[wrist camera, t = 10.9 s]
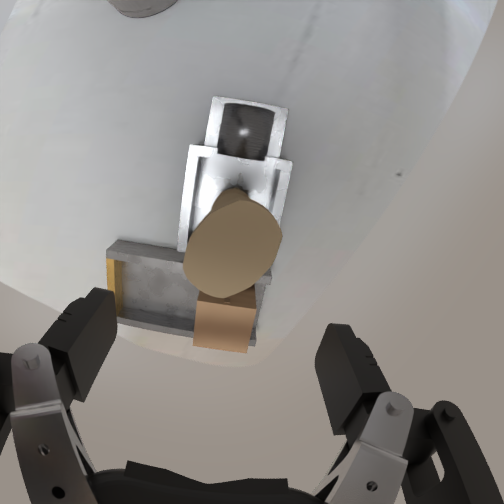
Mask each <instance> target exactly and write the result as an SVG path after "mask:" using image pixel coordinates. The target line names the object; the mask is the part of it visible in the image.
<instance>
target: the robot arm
mask: <svg viewBox="0 0 504 504" xmlns="http://www.w3.org/2000/svg"><path fill="white" fill-rule="evenodd" d="M107 1H108V2H109V3H110V4H112V5H113V6H114V7H115V8H116V9H117V10H118V11H119V12H120V13H121V14H123V15H125V16H128V17H135V18H140V17H147V16H151V15H154V14H157V13H159V12H161V11H163V10H165V9H166V8H168V7H170V6H171V5H172V4H173V3H175V2H176V1H177V0H107ZM116 334H117V315H116V303H115V294H114V292H113V291H111V290H106V289H101V288H97V287H94V288H93V289H92V290H91V291H90V293H89V294H88V295H87V296H86V297H85V298H82V297H80V298H79V299H77V300H75V301H73V302H72V303H70V304H69V305H68V306H67V308H66V309H65V310H64V311H63V313H62V314H61V315H60V316H59V317H58V320H56V321H55V322H54V323H53V325H52V326H51V327H50V328H49V329H48V331H47V332H46V333H45V335H44V336H43V337H42V338H41V340H40V341H39V342H38V344H37V343H29V344H25V345H23V346H21V347H19V348H18V349H17V350H16V351H15V352H14V353H13V354H9V353H1V352H0V455H1V452H2V450H3V447H4V445H5V442H6V440H7V438H8V435H9V433H10V431H11V429H12V432H13V438H14V443H15V447H16V452H17V457H18V460H19V465H20V468H21V472H22V475H23V479H24V482H25V486H26V489H27V492H28V495H29V498H30V501H31V504H394V502H395V500H396V497H397V494H398V491H399V489H400V486H402V490H403V493H404V497H405V501H406V504H504V503H503V500H502V497H501V495H500V492H499V489H498V487H497V485H496V482H495V480H494V477H493V475H492V473H491V471H490V468H489V466H488V464H487V462H486V459H485V457H484V455H483V453H482V451H481V449H480V447H479V445H478V443H477V441H476V439H475V437H474V435H473V433H472V431H471V429H470V427H469V425H468V423H467V421H466V420H465V418H464V416H463V414H462V412H461V411H460V409H459V408H458V407H457V406H456V405H455V404H453V403H451V402H449V401H439V402H437V403H436V404H435V405H434V406H433V408H432V409H431V410H424V409H418V408H413V406H412V404H411V402H410V401H409V400H408V399H407V398H406V397H405V396H403V395H401V394H399V393H396V392H392V391H391V389H390V387H389V385H388V383H387V381H386V379H385V377H384V375H383V373H382V371H381V369H380V367H379V366H377V362H376V360H375V358H373V354H372V352H371V350H370V349H369V347H368V346H367V345H366V344H365V343H364V342H363V341H362V340H361V339H360V338H356V336H355V334H354V333H353V331H352V329H351V327H350V326H349V325H346V324H332V323H330V324H329V325H328V326H327V328H326V331H325V334H324V336H323V339H322V341H321V344H320V346H319V348H318V351H317V353H316V357H315V369H316V373H317V376H318V380H319V384H320V387H321V391H322V394H323V398H324V401H325V405H326V408H327V412H328V416H329V419H330V423H331V427H332V430H333V434H334V435H346V438H347V440H346V441H345V442H344V444H343V446H342V447H341V449H340V451H339V453H338V455H337V456H336V458H335V460H334V461H333V463H332V465H331V467H330V468H329V470H328V471H327V473H326V475H325V476H324V478H323V479H322V481H321V482H320V483H319V485H318V486H317V487H316V488H315V489H314V491H313V492H312V493H311V494H309V493H306V492H304V491H301V490H298V489H294V488H289V487H288V481H287V478H285V479H253V478H250V479H249V478H248V479H243V480H236V481H229V482H222V483H214V484H205V483H202V482H199V481H196V480H193V479H190V478H187V477H185V476H182V475H179V474H177V473H174V472H172V471H169V470H167V469H163V468H158V467H153V466H148V465H144V464H140V463H136V462H132V461H127V465H126V469H110V470H103V471H99V472H96V470H95V468H94V466H93V464H92V462H91V460H90V458H89V456H88V454H87V451H86V449H85V447H84V444H83V442H82V439H81V436H80V434H79V431H78V428H77V425H76V423H75V420H74V417H73V413H72V410H71V408H70V404H71V403H72V401H73V399H75V400H78V401H81V402H84V401H85V399H86V397H87V395H88V393H89V391H90V388H91V386H92V384H93V382H94V380H95V378H96V376H97V374H98V372H99V370H100V368H101V366H102V364H103V362H104V360H105V358H106V356H107V354H108V352H109V350H110V348H111V346H112V344H113V343H114V341H115V338H116ZM436 451H437V452H438V455H439V457H440V460H441V463H442V465H443V468H444V471H445V473H444V478H443V480H442V481H441V482H440V479H439V476H438V473H437V471H436V468H435V465H434V463H433V460H432V458H431V456H432V455H433V454H434V453H435V452H436Z"/></svg>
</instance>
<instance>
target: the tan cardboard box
mask: <svg viewBox="0 0 504 504" xmlns="http://www.w3.org/2000/svg"><path fill="white" fill-rule="evenodd" d="M256 310H257V307H256V296H255V285H254V284H253V285H252V286H251V287H249V288H247V289H246V290H244V291H241V292H239V293H236V294H234V295H231V296H229V297H226V298H217V297H213V296H210V295H208V294H205V293H204V292H202V291H199V295H198V299H197V306H196V316H195V326H194V337H193V346H198V347H204V348H211V349H218V350H225V351H233V352H241V353H247V349H248V345H249V340H250V336H251V332H252V327H253V323H254V319H255V314H256Z"/></svg>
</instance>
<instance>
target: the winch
mask: <svg viewBox="0 0 504 504" xmlns="http://www.w3.org/2000/svg"><path fill="white" fill-rule="evenodd" d="M288 111H289V109H286V108H282V107H277V106H272V105H267V104H262V103H256V102H250V101H244V100H238V99H232V98H225V97H217V96H213V99H212V105H211V110H210V115H209V120H208V126H207V132H206V137H205V143H204V145H198V144H193V145H190V147H189V153H188V160H187V167H186V174H185V181H184V188H183V196H182V204H181V213H180V222H179V231H178V242H177V251H179V252H186V247H187V244H188V242H189V239H190V236H191V234H192V233H193V231H194V230H195V228H196V227H197V226H198V224H199V223H200V222H201V221H202V220H203V218H204V217H205V216H206V215H207V214H208V213H209V212H210V211H211V208H212V205H213V203H214V201H215V200H216V198H217V197H218V196H219V195H220V193H221V192H222V191H225V190H227V189H233V188H234V187H236V188H239V189H240V190H241V191H243V192H245V193H246V194H247V195H248V196H249V198H250V199H252V200H254V201H256V202H258V203H260V204H261V205H263V206H264V207H265V208H267V209H268V210H269V211H270V212H271V213H272V215H273V216H274V217H275V219H276V220H277V222H278V224H279V226H280V222H281V217H282V212H283V208H284V203H285V198H286V194H287V189H288V184H289V179H290V175H291V170H292V165H293V162H292V161H290V160H287V159H282V158H279V156H280V151H281V146H282V141H283V136H284V131H285V126H286V121H287V116H288Z"/></svg>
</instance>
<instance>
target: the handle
mask: <svg viewBox="0 0 504 504" xmlns="http://www.w3.org/2000/svg"><path fill="white" fill-rule="evenodd" d="M281 240H282V232H281V229H280V226H279V224H278V222H277V220H276V219H275V217H274V216H273V215H272V213H271V212H270V211H269V210H268V209H267V208H265V207H264V206H263V205H261V204H260V203H258V202H256V201H254V200H252V199H250V198H249V196H248V195H247V194H246V193H245V192H243V191H241V190H240V189H239V188H236V187H234V188H233V189H227V190H225V191H222V192H221V193H220V195H219V196H218V197H217V198H216V200H215V201H214V203H213V205H212V208H211V211H210V212H209V213H208V214H207V215H206V216H205V217H204V218H203V220H202V221H201V222H200V223H199V224H198V226H197V227H196V228H195V230H194V231H193V233H192V234H191V236H190V239H189V242H188V244H187V247H186V252H185V256H184V261H183V267H182V268H183V271H184V273H185V275H186V277H187V279H188V280H189V281H190V282H191V283H192V284H193V285H194V286H195V287H196V288H197V289H199V290H200V291H202V292H204V293H205V294H208V295H210V296H213V297H217V298H226V297H229V296H231V295H234V294H236V293H239V292H241V291H244V290H246V289H247V288H249V287H251V286H252V285H253V284H254V283H256V282H257V281H258V280H259V279H260V278H261V277H262V275H263V274H264V273H265V272H266V271H267V270H268V269H269V268H270V266H271V265H272V264H273V262H274V260H275V258H276V255H277V252H278V249H279V246H280V243H281Z"/></svg>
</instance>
